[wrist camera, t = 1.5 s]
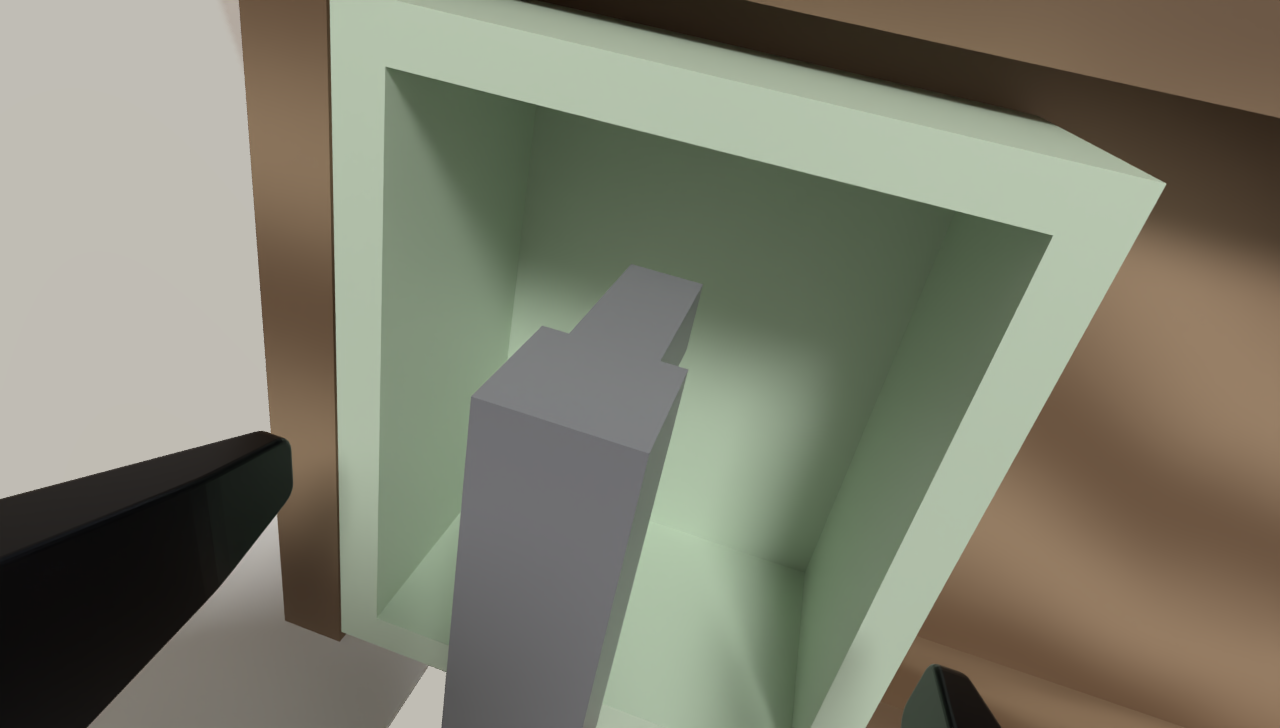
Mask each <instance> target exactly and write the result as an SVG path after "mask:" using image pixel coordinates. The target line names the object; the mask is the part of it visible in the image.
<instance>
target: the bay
mask: <svg viewBox="0 0 1280 728" xmlns="http://www.w3.org/2000/svg"><path fill="white" fill-rule="evenodd" d="M538 1H542V2H547V3H551V4H556V5H560V6H564V7H569V8H573V9H577V10H582V11H586V12H590V13H595V14H599V15H603V16H608V17H612V18H616V19H621V20H625V21H629V22H634V23H638V24H642V25H647V26H651V27H655V28H660V29H664V30H668V31H673V32H677V33H681V34H686V35H690V36H694V37H699V38H703V39H707V40H712V41H716V42H720V43H725V44H729V45H734V46H738V47H742V48H747V49H751V50H755V51H760V52H764V53H768V54H773V55H777V56H781V57H786V58H790V59H794V60H799V61H803V62H807V63H812V64H816V65H820V66H825V67H829V68H833V69H838V70H842V71H846V72H851V73H855V74H859V75H864V76H868V77H872V78H877V79H881V80H885V81H890V82H894V83H899V84H903V85H907V86H912V87H916V88H920V89H925V90H929V91H933V92H938V93H942V94H946V95H951V96H955V97H959V98H964V99H968V100H972V101H977V102H981V103H985V104H990V105H994V106H998V107H1003V108H1007V109H1011V110H1016V111H1020V112H1024V113H1029V114H1033V115H1037V116H1039V117H1041V118H1043V119H1045V120H1047V121H1049V122H1051V123H1053V124H1055V125H1056V126H1058V127H1060V128H1062V129H1064V130H1066V131H1068V132H1070V133H1072V134H1073V135H1075V136H1077V137H1079V138H1081V139H1083V140H1085V141H1087V142H1089V143H1091V144H1092V145H1094V146H1096V147H1098V148H1100V149H1102V150H1104V151H1106V152H1108V153H1109V154H1111V155H1113V156H1115V157H1117V158H1119V159H1121V160H1123V161H1125V162H1127V163H1128V164H1130V165H1132V166H1134V167H1136V168H1138V169H1140V170H1142V171H1144V172H1145V173H1147V174H1149V175H1151V176H1153V177H1155V178H1157V179H1159V180H1161V181H1163V182H1164V183H1166V186H1165V188H1164V189H1163V191H1162V193H1161V195H1160V197H1159V198H1158V200H1157V202H1156V204H1155V206H1154V207H1153V209H1152V211H1151V213H1150V215H1149V216H1148V218H1147V220H1146V222H1145V224H1144V226H1143V227H1142V229H1141V231H1140V233H1139V235H1138V236H1137V238H1136V240H1135V242H1134V244H1133V245H1132V247H1131V249H1130V251H1129V253H1128V254H1127V256H1126V258H1125V260H1124V262H1123V263H1122V265H1121V267H1120V269H1119V271H1118V272H1117V274H1116V276H1115V278H1114V280H1113V282H1112V283H1111V285H1110V287H1109V289H1108V291H1107V292H1106V294H1105V296H1104V298H1103V300H1102V301H1101V303H1100V305H1099V307H1098V309H1097V310H1096V312H1095V314H1094V316H1093V318H1092V319H1091V321H1090V323H1089V325H1088V327H1087V328H1086V330H1085V332H1084V334H1083V336H1082V338H1081V339H1080V341H1079V343H1078V345H1077V347H1076V348H1075V350H1074V352H1073V354H1072V356H1071V357H1070V359H1069V361H1068V363H1067V365H1066V366H1065V368H1064V370H1063V372H1062V374H1061V375H1060V377H1059V379H1058V381H1057V383H1056V385H1055V386H1054V388H1053V390H1052V392H1051V394H1050V395H1049V397H1048V399H1047V401H1046V403H1045V404H1044V406H1043V408H1042V410H1041V412H1040V413H1039V415H1038V417H1037V419H1036V421H1035V422H1034V424H1033V426H1032V428H1031V430H1030V431H1029V433H1028V435H1027V437H1026V439H1025V441H1024V442H1023V444H1022V446H1021V448H1020V450H1019V451H1018V453H1017V455H1016V457H1015V459H1014V460H1013V462H1012V464H1011V466H1010V468H1009V469H1008V471H1007V473H1006V475H1005V477H1004V478H1003V480H1002V482H1001V484H1000V486H999V488H998V489H997V491H996V493H995V495H994V497H993V498H992V500H991V502H990V504H989V506H988V507H987V509H986V511H985V513H984V515H983V516H982V518H981V520H980V522H979V524H978V525H977V527H976V529H975V531H974V533H973V534H972V536H971V538H970V540H969V542H968V544H967V545H966V547H965V549H964V551H963V553H962V554H961V556H960V558H959V560H958V562H957V563H956V565H955V567H954V569H953V571H952V572H951V574H950V576H949V578H948V580H947V581H946V583H945V585H944V587H943V589H942V590H941V592H940V594H939V596H938V598H937V600H936V601H935V603H934V605H933V607H932V609H931V610H930V612H929V614H928V616H927V618H926V619H925V621H924V623H923V625H922V627H921V628H920V630H919V632H918V634H917V636H916V637H915V639H914V641H913V643H912V645H911V647H910V648H909V650H908V652H907V654H906V656H905V657H904V659H903V661H902V663H901V665H900V666H899V668H898V670H897V672H896V674H895V675H894V677H893V679H892V681H891V683H890V684H889V686H888V688H887V690H886V692H885V693H884V695H883V697H882V699H881V701H880V703H879V704H878V706H877V708H876V710H875V712H874V713H873V715H872V717H871V719H870V721H869V722H868V724H867V726H866V728H901V721H902V715H903V711H904V708H905V705H906V703H907V701H908V699H909V698H910V696H911V694H912V692H913V691H914V689H915V687H916V686H917V684H918V682H919V680H920V679H921V677H922V675H923V673H924V672H925V670H926V669H927V667H928V666H930V665H931V664H939V665H942V666H945V667H948V668H951V669H954V670H957V671H959V672H962V673H964V674H965V675H966V676H967V677H968V678H969V679H970V680H971V681H972V683H973V684H974V686H975V688H976V689H977V691H978V692H979V694H980V695H981V697H982V698H983V700H984V701H985V703H986V704H987V706H988V707H989V709H990V710H991V712H992V713H993V715H994V716H995V718H996V720H997V721H998V723H999V724H1000V726H1001V727H1002V728H1280V0H538ZM239 7H240V21H241V34H242V48H243V61H244V75H245V88H246V101H247V115H248V129H249V142H250V155H251V169H252V182H253V196H254V210H255V223H256V237H257V249H258V264H259V277H260V291H261V304H262V318H263V331H264V344H265V358H266V372H267V385H268V399H269V412H270V425H271V434H274V435H277V436H280V437H283V438H285V439H286V440H288V441H289V443H290V445H291V449H292V467H293V489H292V492H291V495H290V497H289V499H288V500H287V502H286V503H285V505H284V506H283V507H282V508H281V510H280V511H279V512H278V514H277V520H278V534H279V547H280V561H281V574H282V588H283V601H284V615H285V621H287V622H290V623H292V624H295V625H297V626H300V627H302V628H305V629H308V630H310V631H313V632H315V633H318V634H321V635H323V636H326V637H328V638H331V639H333V640H336V641H339V642H340V641H341V640H342V638H343V637H344V636H345V635H346V633H343V632H342V631H341V578H340V524H339V471H338V418H337V364H336V311H335V257H334V204H333V151H332V97H331V44H330V0H239Z"/></svg>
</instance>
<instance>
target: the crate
mask: <svg viewBox="0 0 1280 728" xmlns="http://www.w3.org/2000/svg"><path fill="white" fill-rule="evenodd" d="M330 44H331V97H332V151H333V204H334V257H335V311H336V364H337V418H338V471H339V524H340V578H341V631H342V632H343V633H346V634H348V635H351V636H354V637H356V638H359V639H362V640H364V641H367V642H369V643H372V644H375V645H377V646H380V647H382V648H385V649H388V650H390V651H393V652H395V653H398V654H401V655H403V656H406V657H408V658H411V659H414V660H416V661H419V662H421V663H424V664H427V665H429V666H432V667H435V668H437V669H440V670H442V671H445V672H447V673H446V684H445V695H444V707H443V718H442V728H866V726H867V724H868V722H869V721H870V719H871V717H872V715H873V713H874V712H875V710H876V708H877V706H878V704H879V703H880V701H881V699H882V697H883V695H884V693H885V692H886V690H887V688H888V686H889V684H890V683H891V681H892V679H893V677H894V675H895V674H896V672H897V670H898V668H899V666H900V665H901V663H902V661H903V659H904V657H905V656H906V654H907V652H908V650H909V648H910V647H911V645H912V643H913V641H914V639H915V637H916V636H917V634H918V632H919V630H920V628H921V627H922V625H923V623H924V621H925V619H926V618H927V616H928V614H929V612H930V610H931V609H932V607H933V605H934V603H935V601H936V600H937V598H938V596H939V594H940V592H941V590H942V589H943V587H944V585H945V583H946V581H947V580H948V578H949V576H950V574H951V572H952V571H953V569H954V567H955V565H956V563H957V562H958V560H959V558H960V556H961V554H962V553H963V551H964V549H965V547H966V545H967V544H968V542H969V540H970V538H971V536H972V534H973V533H974V531H975V529H976V527H977V525H978V524H979V522H980V520H981V518H982V516H983V515H984V513H985V511H986V509H987V507H988V506H989V504H990V502H991V500H992V498H993V497H994V495H995V493H996V491H997V489H998V488H999V486H1000V484H1001V482H1002V480H1003V478H1004V477H1005V475H1006V473H1007V471H1008V469H1009V468H1010V466H1011V464H1012V462H1013V460H1014V459H1015V457H1016V455H1017V453H1018V451H1019V450H1020V448H1021V446H1022V444H1023V442H1024V441H1025V439H1026V437H1027V435H1028V433H1029V431H1030V430H1031V428H1032V426H1033V424H1034V422H1035V421H1036V419H1037V417H1038V415H1039V413H1040V412H1041V410H1042V408H1043V406H1044V404H1045V403H1046V401H1047V399H1048V397H1049V395H1050V394H1051V392H1052V390H1053V388H1054V386H1055V385H1056V383H1057V381H1058V379H1059V377H1060V375H1061V374H1062V372H1063V370H1064V368H1065V366H1066V365H1067V363H1068V361H1069V359H1070V357H1071V356H1072V354H1073V352H1074V350H1075V348H1076V347H1077V345H1078V343H1079V341H1080V339H1081V338H1082V336H1083V334H1084V332H1085V330H1086V328H1087V327H1088V325H1089V323H1090V321H1091V319H1092V318H1093V316H1094V314H1095V312H1096V310H1097V309H1098V307H1099V305H1100V303H1101V301H1102V300H1103V298H1104V296H1105V294H1106V292H1107V291H1108V289H1109V287H1110V285H1111V283H1112V282H1113V280H1114V278H1115V276H1116V274H1117V272H1118V271H1119V269H1120V267H1121V265H1122V263H1123V262H1124V260H1125V258H1126V256H1127V254H1128V253H1129V251H1130V249H1131V247H1132V245H1133V244H1134V242H1135V240H1136V238H1137V236H1138V235H1139V233H1140V231H1141V229H1142V227H1143V226H1144V224H1145V222H1146V220H1147V218H1148V216H1149V215H1150V213H1151V211H1152V209H1153V207H1154V206H1155V204H1156V202H1157V200H1158V198H1159V197H1160V195H1161V193H1162V191H1163V189H1164V188H1165V186H1166V183H1164V182H1163V181H1161V180H1159V179H1157V178H1155V177H1153V176H1151V175H1149V174H1147V173H1145V172H1144V171H1142V170H1140V169H1138V168H1136V167H1134V166H1132V165H1130V164H1128V163H1127V162H1125V161H1123V160H1121V159H1119V158H1117V157H1115V156H1113V155H1111V154H1109V153H1108V152H1106V151H1104V150H1102V149H1100V148H1098V147H1096V146H1094V145H1092V144H1091V143H1089V142H1087V141H1085V140H1083V139H1081V138H1079V137H1077V136H1075V135H1073V134H1072V133H1070V132H1068V131H1066V130H1064V129H1062V128H1060V127H1058V126H1056V125H1055V124H1053V123H1051V122H1049V121H1047V120H1045V119H1043V118H1041V117H1039V116H1037V115H1033V114H1029V113H1024V112H1020V111H1016V110H1011V109H1007V108H1003V107H998V106H994V105H990V104H985V103H981V102H977V101H972V100H968V99H964V98H959V97H955V96H951V95H946V94H942V93H938V92H933V91H929V90H925V89H920V88H916V87H912V86H907V85H903V84H899V83H894V82H890V81H885V80H881V79H877V78H872V77H868V76H864V75H859V74H855V73H851V72H846V71H842V70H838V69H833V68H829V67H825V66H820V65H816V64H812V63H807V62H803V61H799V60H794V59H790V58H786V57H781V56H777V55H773V54H768V53H764V52H760V51H755V50H751V49H747V48H742V47H738V46H734V45H729V44H725V43H720V42H716V41H712V40H707V39H703V38H699V37H694V36H690V35H686V34H681V33H677V32H673V31H668V30H664V29H660V28H655V27H651V26H647V25H642V24H638V23H634V22H629V21H625V20H621V19H616V18H612V17H608V16H603V15H599V14H595V13H590V12H586V11H582V10H577V9H573V8H569V7H564V6H560V5H556V4H551V3H547V2H542V1H538V0H330Z"/></svg>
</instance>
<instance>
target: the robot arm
mask: <svg viewBox="0 0 1280 728" xmlns="http://www.w3.org/2000/svg"><path fill="white" fill-rule="evenodd" d="M292 489H293V467H292V449H291V445H290V443H289V441H288V440H286V439H285V438H283V437H280V436H277V435H274V434H271V433H268V432H264V431H258V432H253V433H249V434H245V435H242V436H238V437H234V438H230V439H226V440H223V441H219V442H215V443H211V444H208V445H204V446H200V447H196V448H192V449H188V450H185V451H181V452H177V453H174V454H169V455H166V456H162V457H158V458H154V459H151V460H147V461H143V462H139V463H136V464H132V465H128V466H124V467H120V468H117V469H113V470H109V471H105V472H101V473H97V474H94V475H90V476H86V477H82V478H78V479H75V480H71V481H67V482H64V483H60V484H56V485H52V486H48V487H44V488H41V489H37V490H33V491H29V492H26V493H22V494H18V495H14V496H10V497H6V498H3V499H0V728H87V727H88V726H89V725H90V724H91V723H92V722H93V721H94V720H95V719H96V718H97V717H98V716H99V715H100V714H101V712H102V711H103V710H104V709H105V708H106V707H107V706H108V705H109V704H110V703H111V702H112V701H113V700H114V699H115V698H116V697H117V696H118V695H119V693H120V692H121V691H122V690H123V689H124V688H125V687H126V686H127V685H128V684H129V683H130V682H131V681H132V680H133V679H134V678H135V677H136V676H137V674H138V673H139V672H140V671H141V670H142V669H143V668H144V667H145V666H146V665H147V664H148V663H149V662H150V661H151V660H152V659H153V658H154V657H155V655H156V654H157V653H158V652H159V651H160V650H161V649H162V648H163V647H164V646H165V645H166V644H167V643H168V642H169V641H170V640H171V639H172V638H173V636H174V635H175V634H176V633H177V632H178V631H179V630H180V629H181V628H182V627H183V626H184V625H185V624H186V623H187V622H188V621H189V620H190V619H191V617H192V616H193V615H194V614H195V613H196V612H197V611H198V610H199V609H200V608H201V607H202V606H203V605H204V604H205V603H206V602H207V600H208V599H209V598H210V597H211V596H212V595H213V594H214V593H215V592H216V591H217V589H218V588H219V587H220V586H221V585H222V584H223V582H224V581H225V580H226V579H227V578H228V576H229V575H230V574H231V573H232V571H233V570H234V569H235V568H236V566H237V565H238V564H239V562H240V561H241V560H242V559H243V557H244V556H245V555H246V553H247V552H248V551H249V550H250V548H251V547H252V546H253V544H254V543H255V542H256V541H257V539H258V538H259V537H260V535H261V534H262V533H263V532H264V530H265V529H266V528H267V526H268V525H269V524H270V523H271V521H272V520H273V519H274V517H275V516H276V515H277V514H278V512H279V511H280V510H281V508H282V507H283V506H284V505H285V503H286V502H287V500H288V499H289V497H290V495H291V492H292ZM901 728H1002V727H1001V726H1000V724H999V723H998V721H997V720H996V718H995V716H994V715H993V713H992V712H991V710H990V709H989V707H988V706H987V704H986V703H985V701H984V700H983V698H982V697H981V695H980V694H979V692H978V691H977V689H976V688H975V686H974V684H973V683H972V681H971V680H970V679H969V678H968V677H967V676H966V675H965V674H964V673H962V672H959V671H957V670H954V669H951V668H948V667H945V666H942V665H939V664H931V665H930V666H928V667H927V669H926V670H925V672H924V673H923V675H922V677H921V679H920V680H919V682H918V684H917V686H916V687H915V689H914V691H913V692H912V694H911V696H910V698H909V699H908V701H907V703H906V705H905V708H904V711H903V715H902V721H901Z"/></svg>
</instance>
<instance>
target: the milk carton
mask: <svg viewBox="0 0 1280 728" xmlns="http://www.w3.org/2000/svg"><path fill="white" fill-rule="evenodd" d="M428 666H429V665H427V664H424V663H421V662H419V661H416V660H414V659H411V658H408V657H406V656H403V655H401V654H398V653H395V652H393V651H390V650H388V649H385V648H382V647H380V646H377V645H375V644H372V643H369V642H367V641H364V640H362V639H359V638H356V637H354V636H351V635H348V634H346V635H345V636H344V637H343V638H342V640H341V641H340V642H339V641H336V640H333V639H331V638H328V637H326V636H323V635H321V634H318V633H315V632H313V631H310V630H308V629H305V628H302V627H300V626H297V625H295V624H292V623H290V622H287V621H285V615H284V601H283V588H282V574H281V561H280V547H279V534H278V520H277V515H276V516H275V517H274V519H273V520H272V521H271V523H270V524H269V525H268V526H267V528H266V529H265V530H264V532H263V533H262V534H261V535H260V537H259V538H258V539H257V541H256V542H255V543H254V544H253V546H252V547H251V548H250V550H249V551H248V552H247V553H246V555H245V556H244V557H243V559H242V560H241V561H240V562H239V564H238V565H237V566H236V568H235V569H234V570H233V571H232V573H231V574H230V575H229V576H228V578H227V579H226V580H225V581H224V582H223V584H222V585H221V586H220V587H219V588H218V589H217V591H216V592H215V593H214V594H213V595H212V596H211V597H210V598H209V599H208V600H207V602H206V603H205V604H204V605H203V606H202V607H201V608H200V609H199V610H198V611H197V612H196V613H195V614H194V615H193V616H192V617H191V619H190V620H189V621H188V622H187V623H186V624H185V625H184V626H183V627H182V628H181V629H180V630H179V631H178V632H177V633H176V634H175V635H174V636H173V638H172V639H171V640H170V641H169V642H168V643H167V644H166V645H165V646H164V647H163V648H162V649H161V650H160V651H159V652H158V653H157V654H156V655H155V657H154V658H153V659H152V660H151V661H150V662H149V663H148V664H147V665H146V666H145V667H144V668H143V669H142V670H141V671H140V672H139V673H138V674H137V676H136V677H135V678H134V679H133V680H132V681H131V682H130V683H129V684H128V685H127V686H126V687H125V688H124V689H123V690H122V691H121V692H120V693H119V695H118V696H117V697H116V698H115V699H114V700H113V701H112V702H111V703H110V704H109V705H108V706H107V707H106V708H105V709H104V710H103V711H102V712H101V714H100V715H99V716H98V717H97V718H96V719H95V720H94V721H93V722H92V723H91V724H90V725H89V726H88V727H87V728H388V727H389V726H390V724H391V722H392V721H393V720H394V718H395V716H396V715H397V713H398V712H399V710H400V709H401V707H402V706H403V704H404V703H405V701H406V700H407V698H408V696H409V695H410V694H411V692H412V690H413V689H414V687H415V686H416V684H417V683H418V681H419V680H420V678H421V677H422V675H423V673H424V672H425V670H426V669H427V667H428Z"/></svg>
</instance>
